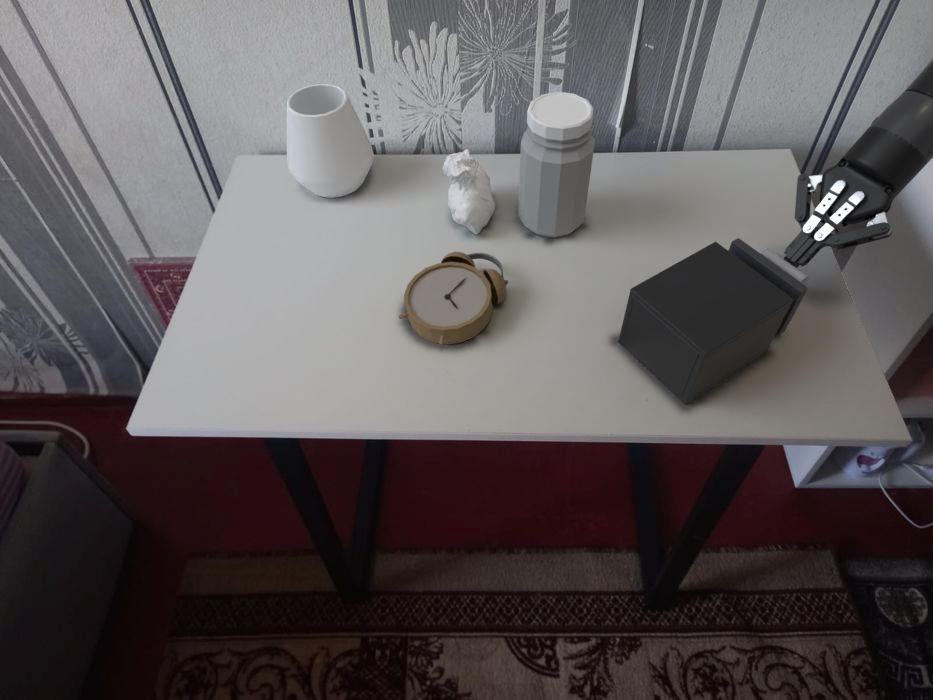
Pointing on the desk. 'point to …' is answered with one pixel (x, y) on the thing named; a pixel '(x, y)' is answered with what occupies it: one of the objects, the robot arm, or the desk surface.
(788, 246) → the robot arm
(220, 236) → the desk surface
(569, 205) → the jar
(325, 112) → the white vase
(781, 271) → the drawer
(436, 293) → the alarm clock
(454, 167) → the white tied bag
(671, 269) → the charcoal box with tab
